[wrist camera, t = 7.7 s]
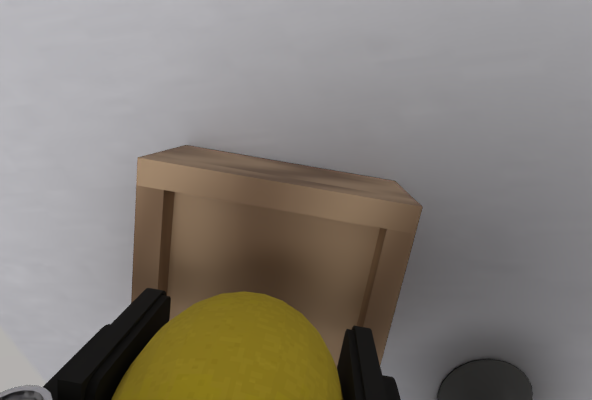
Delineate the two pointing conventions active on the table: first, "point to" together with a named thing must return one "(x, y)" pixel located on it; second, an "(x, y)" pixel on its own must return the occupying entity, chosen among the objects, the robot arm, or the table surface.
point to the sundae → (486, 382)
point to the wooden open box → (273, 237)
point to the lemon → (234, 355)
